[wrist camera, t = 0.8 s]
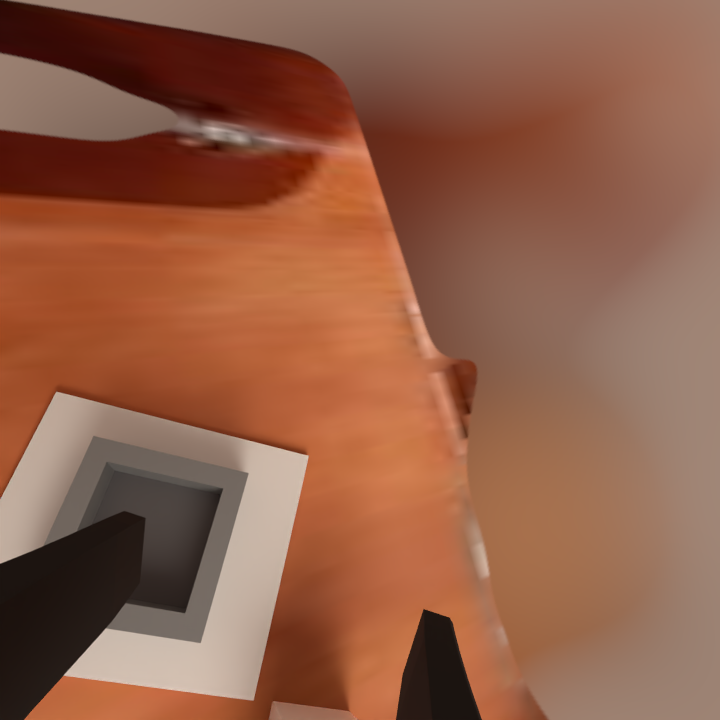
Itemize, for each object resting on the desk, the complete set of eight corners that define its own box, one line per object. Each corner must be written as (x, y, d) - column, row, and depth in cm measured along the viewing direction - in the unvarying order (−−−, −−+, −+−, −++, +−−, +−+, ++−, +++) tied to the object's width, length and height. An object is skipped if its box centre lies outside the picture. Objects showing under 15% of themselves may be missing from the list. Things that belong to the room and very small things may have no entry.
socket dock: (252, 698, 22) (260, 715, 19) (-77, 654, 19) (-118, 668, 16) (307, 457, 27) (318, 446, 25) (58, 393, 24) (42, 374, 22)
